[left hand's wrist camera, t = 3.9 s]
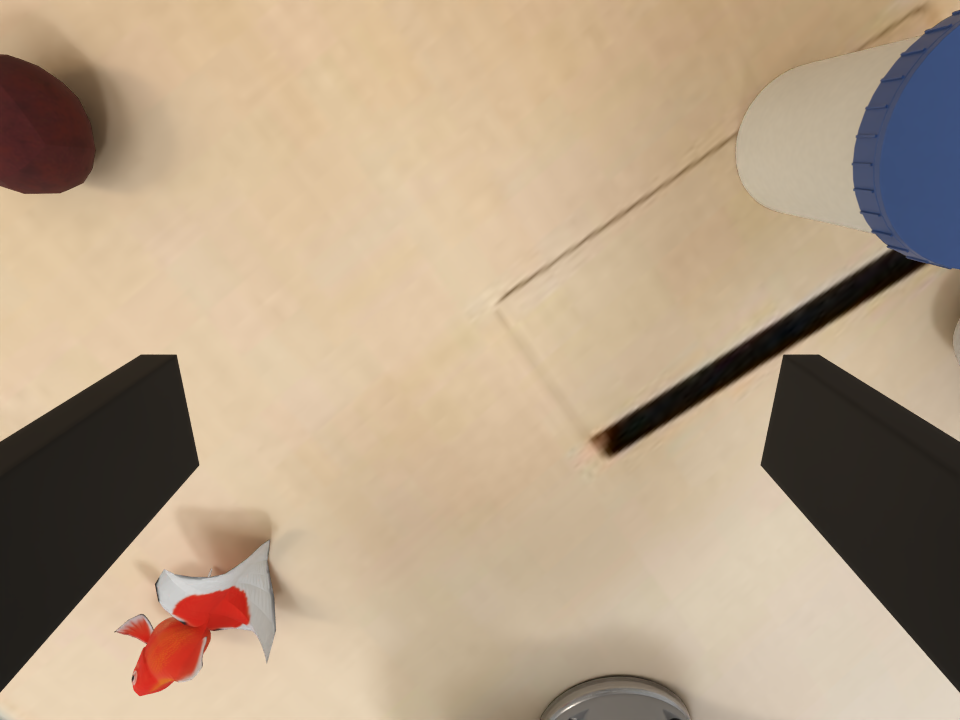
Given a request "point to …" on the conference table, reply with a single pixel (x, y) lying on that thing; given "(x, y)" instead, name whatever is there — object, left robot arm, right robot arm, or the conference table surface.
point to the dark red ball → (41, 131)
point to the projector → (957, 342)
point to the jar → (812, 135)
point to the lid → (915, 151)
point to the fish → (201, 620)
